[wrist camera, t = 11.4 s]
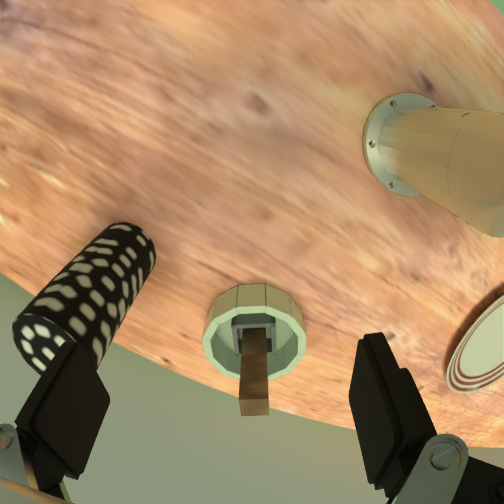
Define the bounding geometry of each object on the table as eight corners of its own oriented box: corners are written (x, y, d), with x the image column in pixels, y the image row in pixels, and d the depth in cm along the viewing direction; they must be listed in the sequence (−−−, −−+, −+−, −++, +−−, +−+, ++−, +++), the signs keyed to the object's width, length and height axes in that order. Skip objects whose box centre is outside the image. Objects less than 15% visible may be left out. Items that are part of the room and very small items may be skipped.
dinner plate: (532, 345, 49) (539, 354, 46) (442, 402, 54) (447, 413, 51) (545, 250, 39) (555, 258, 35) (435, 318, 44) (444, 331, 41)
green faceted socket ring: (302, 281, 41) (307, 303, 36) (300, 354, 46) (303, 378, 42) (201, 286, 41) (195, 308, 37) (214, 358, 47) (211, 382, 42)
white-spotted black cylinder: (168, 258, 39) (111, 372, 21) (128, 290, 42) (66, 398, 23) (125, 209, 37) (32, 295, 19) (87, 246, 39) (1, 337, 21)
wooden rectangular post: (265, 318, 42) (268, 398, 30) (266, 335, 44) (268, 415, 31) (243, 319, 43) (238, 399, 30) (244, 336, 44) (241, 415, 31)
